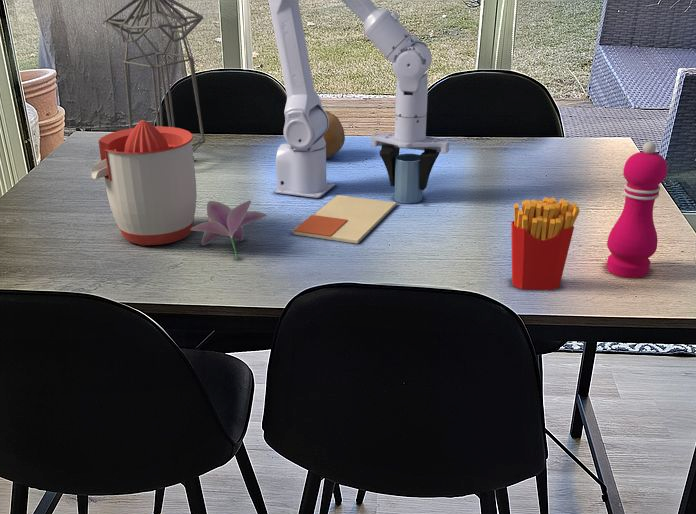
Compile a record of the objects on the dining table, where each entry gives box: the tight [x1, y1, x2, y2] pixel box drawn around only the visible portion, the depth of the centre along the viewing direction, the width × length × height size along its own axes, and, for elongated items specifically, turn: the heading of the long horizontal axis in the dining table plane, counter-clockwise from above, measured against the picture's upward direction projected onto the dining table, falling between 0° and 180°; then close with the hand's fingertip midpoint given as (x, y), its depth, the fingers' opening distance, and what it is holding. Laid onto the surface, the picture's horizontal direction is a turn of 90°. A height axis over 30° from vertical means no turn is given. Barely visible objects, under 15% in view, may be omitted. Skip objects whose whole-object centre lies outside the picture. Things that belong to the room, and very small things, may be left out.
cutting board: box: [292, 194, 397, 245], centre depth 150 cm, size 12×20×1 cm, turn 157°
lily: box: [190, 200, 267, 260], centre depth 136 cm, size 12×12×10 cm
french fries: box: [510, 196, 581, 291], centre depth 122 cm, size 9×4×13 cm, turn 85°
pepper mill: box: [605, 141, 668, 279], centre depth 124 cm, size 7×7×20 cm
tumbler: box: [393, 153, 424, 204], centre depth 156 cm, size 5×5×8 cm
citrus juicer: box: [91, 119, 198, 247], centre depth 140 cm, size 16×17×20 cm
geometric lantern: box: [102, 0, 206, 159], centre depth 172 cm, size 16×16×35 cm
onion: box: [324, 110, 346, 160], centre depth 180 cm, size 10×10×10 cm
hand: (408, 186), depth 157 cm, fingers closed on tumbler, 5 cm apart
